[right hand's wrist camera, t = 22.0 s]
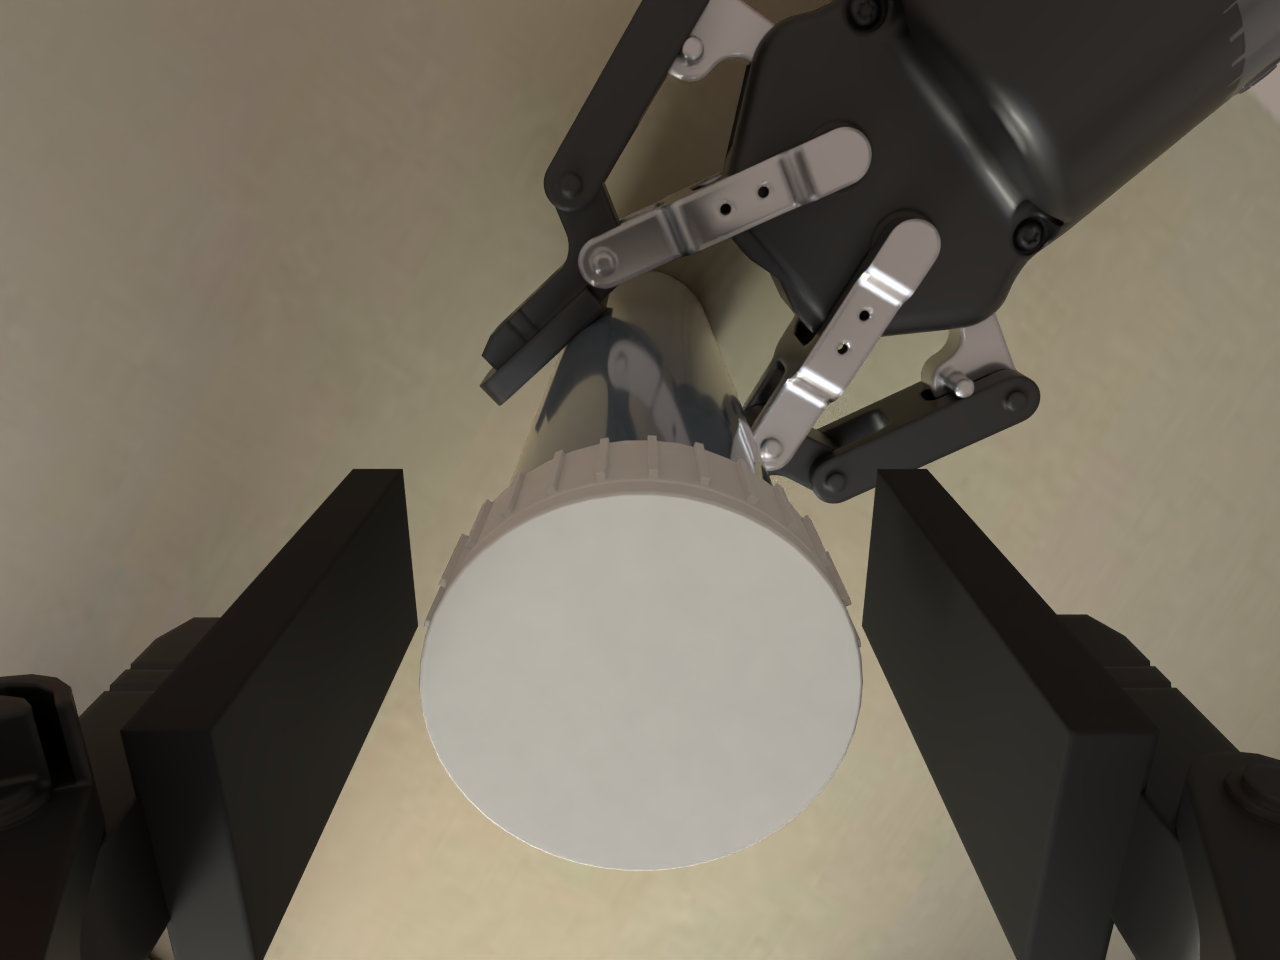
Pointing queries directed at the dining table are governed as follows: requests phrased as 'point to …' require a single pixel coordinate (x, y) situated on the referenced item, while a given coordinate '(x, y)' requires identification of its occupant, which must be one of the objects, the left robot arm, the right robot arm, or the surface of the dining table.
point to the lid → (640, 658)
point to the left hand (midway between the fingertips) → (565, 456)
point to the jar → (643, 381)
